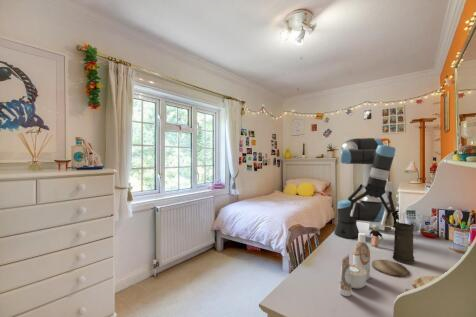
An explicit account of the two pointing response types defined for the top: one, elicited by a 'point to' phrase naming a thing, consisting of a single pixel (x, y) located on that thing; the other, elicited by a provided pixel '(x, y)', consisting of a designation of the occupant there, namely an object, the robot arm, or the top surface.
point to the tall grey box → (383, 228)
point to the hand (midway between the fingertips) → (366, 220)
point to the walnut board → (389, 268)
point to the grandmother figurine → (375, 236)
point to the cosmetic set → (355, 268)
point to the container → (403, 243)
